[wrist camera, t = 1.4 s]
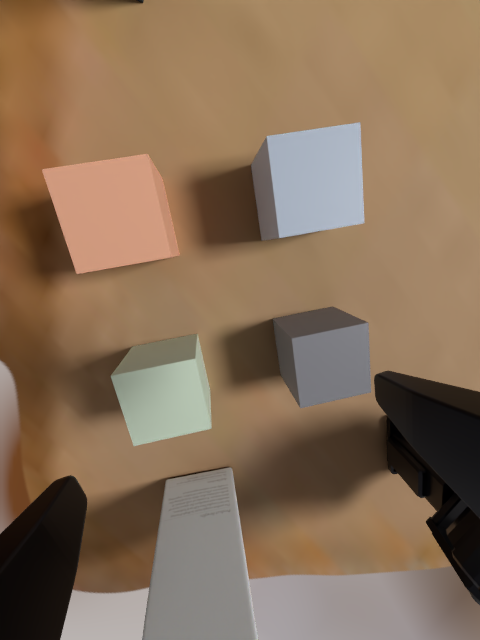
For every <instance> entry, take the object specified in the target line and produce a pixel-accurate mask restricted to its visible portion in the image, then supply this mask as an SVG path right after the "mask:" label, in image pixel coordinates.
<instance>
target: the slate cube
mask: <svg viewBox="0 0 480 640" xmlns="http://www.w3.org/2000/svg"><path fill="white" fill-rule="evenodd" d="M251 169H252V176H253V183H254V190H255V197H256V205H257V212H258V219H259V226H260V233H261V240H269V239H277V238H283V237H288V236H294V235H300V234H305V233H311V232H317V231H322V230H328V229H334V228H339V227H345V226H351V225H356V224H362V223H364V204H363V179H362V154H361V130H360V123H353V124H346V125H339V126H333V127H326V128H319V129H312V130H305V131H299V132H292V133H285V134H278V135H271V136H267V137H266V138H265V140H264V142H263V144H262V146H261V148H260V149H259V151H258V153H257V155H256V157H255V158H254V160H253V162H252V164H251Z"/></svg>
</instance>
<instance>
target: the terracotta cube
mask: <svg viewBox="0 0 480 640" xmlns="http://www.w3.org/2000/svg"><path fill="white" fill-rule="evenodd" d="M42 171H43V174H44V177H45V180H46V183H47V186H48V189H49V192H50V195H51V198H52V201H53V204H54V207H55V210H56V213H57V216H58V219H59V222H60V225H61V228H62V231H63V234H64V237H65V240H66V243H67V246H68V249H69V252H70V255H71V258H72V261H73V264H74V267H75V270H76V273H77V274H80V273H86V272H91V271H97V270H103V269H108V268H114V267H120V266H125V265H131V264H137V263H142V262H148V261H154V260H159V259H165V258H170V257H175V256H178V255H180V254H179V249H178V245H177V240H176V236H175V232H174V227H173V223H172V218H171V214H170V209H169V205H168V200H167V196H166V191H165V187H164V183H163V178H162V177H161V175H160V173H159V172H158V170H157V169H156V167H155V165H154V164H153V162H152V160H151V159H150V157H149V155H148V154H143V155H136V156H130V157H123V158H116V159H109V160H102V161H96V162H89V163H82V164H75V165H68V166H62V167H55V168H48V169H42Z"/></svg>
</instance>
